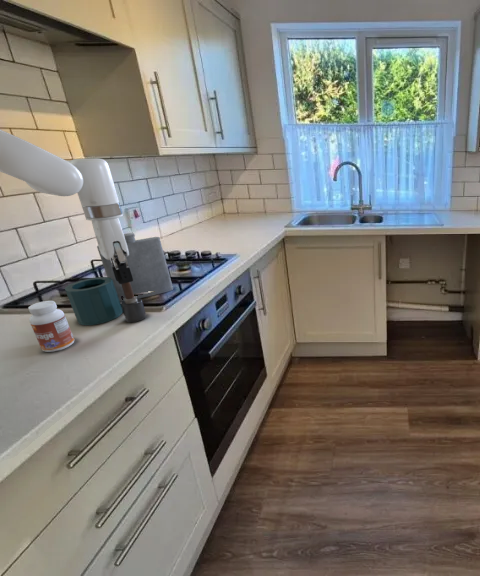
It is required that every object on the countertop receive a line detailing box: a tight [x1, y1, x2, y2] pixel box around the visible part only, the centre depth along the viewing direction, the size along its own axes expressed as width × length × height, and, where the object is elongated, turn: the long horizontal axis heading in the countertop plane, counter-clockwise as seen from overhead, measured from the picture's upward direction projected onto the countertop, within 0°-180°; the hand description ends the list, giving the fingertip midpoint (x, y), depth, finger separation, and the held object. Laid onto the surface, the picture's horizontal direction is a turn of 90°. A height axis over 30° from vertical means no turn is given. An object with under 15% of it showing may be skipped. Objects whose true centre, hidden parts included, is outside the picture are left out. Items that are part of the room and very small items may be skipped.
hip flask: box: [96, 232, 174, 303], centre depth 111 cm, size 16×4×20 cm, turn 126°
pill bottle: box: [27, 300, 75, 353], centre depth 85 cm, size 6×6×11 cm
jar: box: [64, 276, 124, 326], centre depth 100 cm, size 10×10×10 cm
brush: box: [116, 261, 147, 323], centre depth 97 cm, size 5×5×17 cm
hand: (124, 280), depth 96 cm, fingers closed on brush
